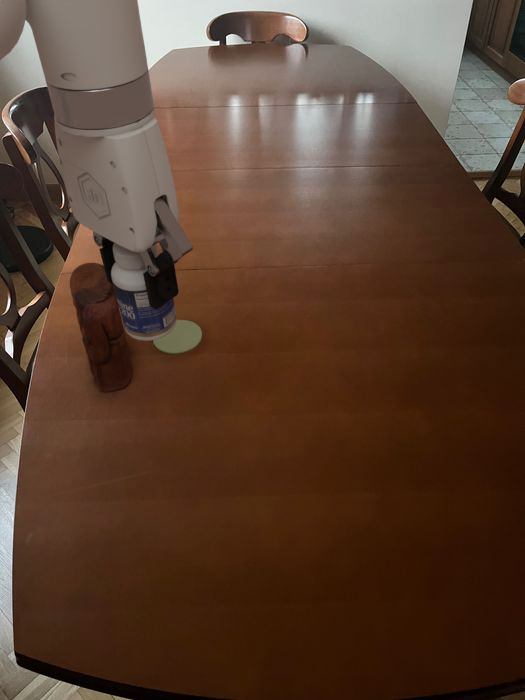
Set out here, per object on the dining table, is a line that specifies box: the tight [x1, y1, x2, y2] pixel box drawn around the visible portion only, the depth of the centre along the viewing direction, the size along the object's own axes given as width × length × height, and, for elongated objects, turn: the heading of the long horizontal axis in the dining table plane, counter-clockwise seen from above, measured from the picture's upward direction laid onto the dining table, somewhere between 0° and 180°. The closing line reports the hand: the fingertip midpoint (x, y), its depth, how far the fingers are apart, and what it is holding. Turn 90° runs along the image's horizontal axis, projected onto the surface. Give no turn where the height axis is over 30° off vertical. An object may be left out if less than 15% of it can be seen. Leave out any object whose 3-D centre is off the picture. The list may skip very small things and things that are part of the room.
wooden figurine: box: [69, 262, 133, 393], centre depth 85 cm, size 12×6×18 cm, turn 16°
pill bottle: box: [111, 243, 178, 342], centre depth 57 cm, size 5×5×10 cm
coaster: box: [152, 319, 203, 355], centre depth 96 cm, size 8×8×1 cm
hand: (142, 287), depth 57 cm, fingers closed on pill bottle, 5 cm apart
